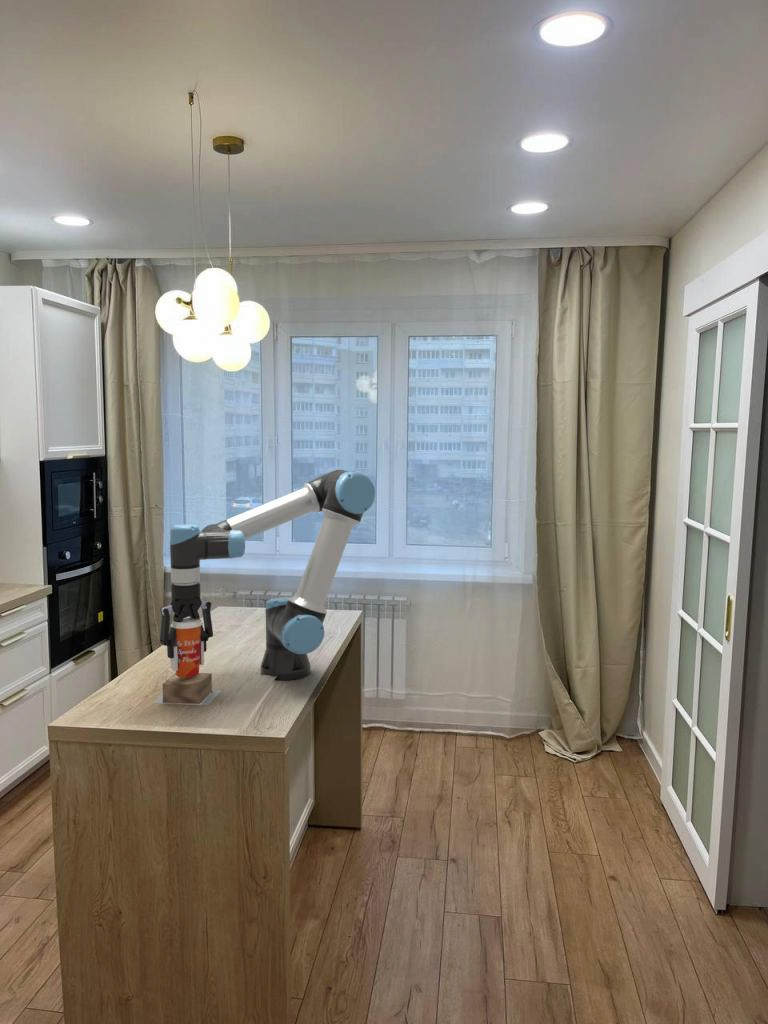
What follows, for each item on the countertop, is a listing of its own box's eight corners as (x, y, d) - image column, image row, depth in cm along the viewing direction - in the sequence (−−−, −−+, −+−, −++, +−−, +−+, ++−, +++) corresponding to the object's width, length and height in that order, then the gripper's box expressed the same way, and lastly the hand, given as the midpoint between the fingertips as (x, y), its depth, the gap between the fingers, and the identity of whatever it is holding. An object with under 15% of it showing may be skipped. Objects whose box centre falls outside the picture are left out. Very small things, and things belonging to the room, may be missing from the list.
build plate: (221, 694, 202) (221, 690, 202) (208, 709, 191) (208, 705, 191) (168, 692, 203) (168, 688, 203) (153, 707, 192) (152, 703, 192)
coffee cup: (171, 680, 191) (170, 624, 190) (172, 670, 199) (170, 616, 198) (204, 677, 194) (203, 622, 192) (203, 668, 202) (202, 615, 200)
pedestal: (211, 690, 202) (211, 673, 201) (199, 703, 192) (199, 685, 191) (176, 689, 202) (176, 671, 202) (162, 702, 192) (162, 683, 192)
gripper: (213, 576, 203) (214, 656, 205) (143, 585, 190) (146, 670, 193) (225, 580, 197) (227, 662, 200) (155, 589, 185) (158, 677, 187)
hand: (187, 666), depth 196 cm, fingers closed on coffee cup, 7 cm apart
